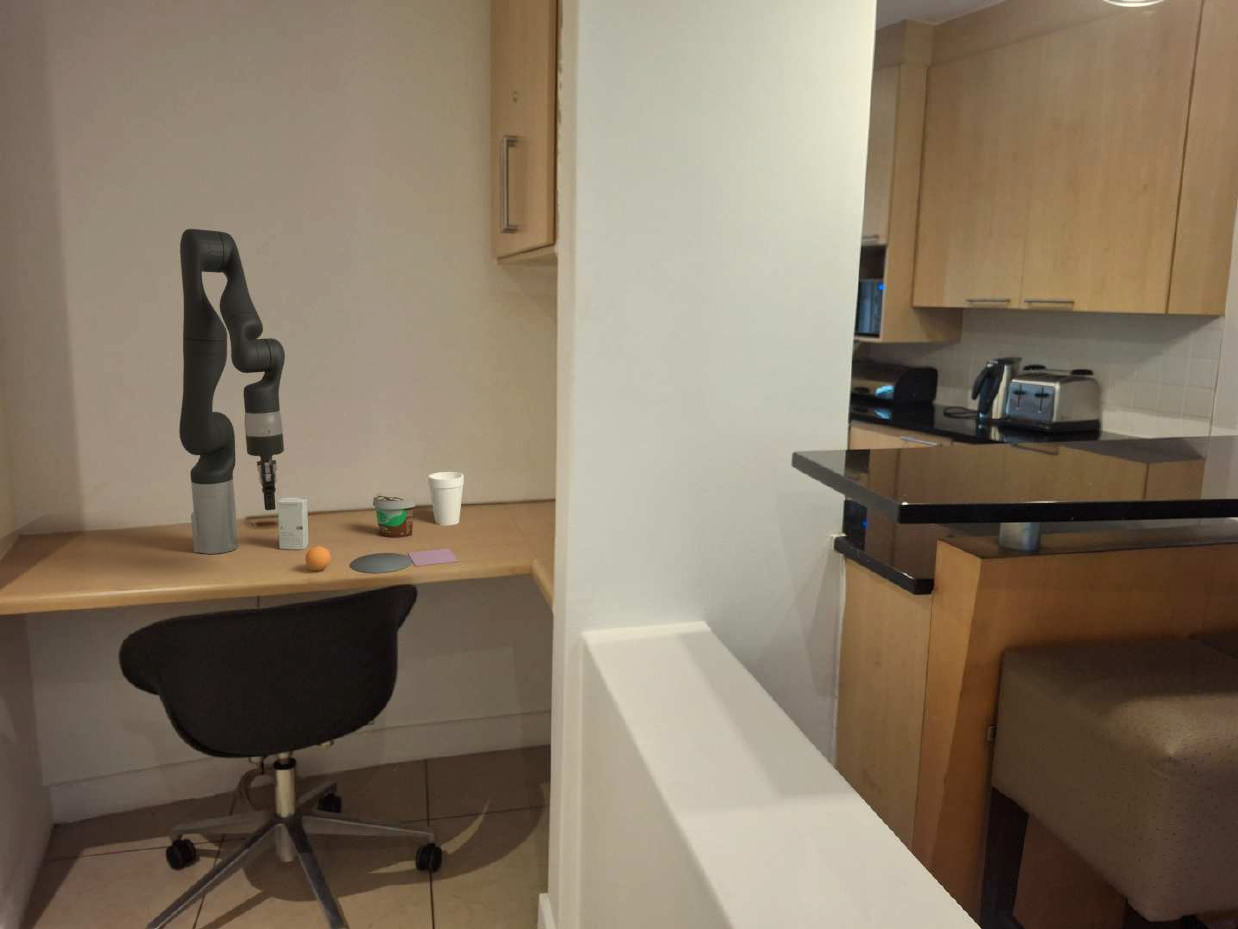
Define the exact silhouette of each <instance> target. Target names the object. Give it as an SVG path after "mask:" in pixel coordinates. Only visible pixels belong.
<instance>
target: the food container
mask: <svg viewBox="0 0 1238 929" xmlns="http://www.w3.org/2000/svg"><path fill="white" fill-rule="evenodd" d="M381 494H382V493H381V492H378V493H376V494H375V495H374V497H373V499H372V500H373V501H372V506H374V507H375V512H376V514H375V515H376V519H377V520H376V521H377V526H378V534H379V536H381V537H383V538H388V539H389V538H390V539H397V538H398V539H399V538H407V537H411V536H413V526H414V525H413V524H414V507H416V501H415V498H414V497H413V498H409V499H403V498H400V497H397V496H393V497H389V496H382V495H381Z"/></svg>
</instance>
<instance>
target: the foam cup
mask: <svg viewBox="0 0 1238 929" xmlns="http://www.w3.org/2000/svg"><path fill="white" fill-rule="evenodd" d="M464 476H465V475H464V474H463V473H462V472H456V471H439V472H433V473H431V474H428V476H427V478H428V481H427V482H428V486H429V491H430V498H431V503H432V510H433V516H434V521H435V524H436V523H437V525H438V524H440V525H439V526H455V525H457V524H459V523H460V519H461V517H460V516H461V507H462V506H461V505H462V499H463V498H462V497H463V489H464V484H465V477H464Z"/></svg>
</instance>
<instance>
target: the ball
mask: <svg viewBox="0 0 1238 929" xmlns="http://www.w3.org/2000/svg"><path fill="white" fill-rule="evenodd" d="M304 559H305V560H304V561H305V564H306V566H308V569H309V568H310V569H311V570H313V571H315V572H316V571H322V570H325V569H326V568H327V567H329V565H330V563H331V561H332V560H331V559H332V556H331V553H330V551H329V550H328V549H327V548H325V547H324V546H318V545H317V546H312V548H310V549H308V550H307V552H306V553H305V558H304Z"/></svg>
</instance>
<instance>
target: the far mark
mask: <svg viewBox="0 0 1238 929" xmlns="http://www.w3.org/2000/svg"><path fill="white" fill-rule="evenodd" d="M407 555H408V556H409V557H410V558H411V559H412V563H413V565H414V566H415V567H422V566H430V565H431V566H433V565H441V564H449V563H450V564H451V563H458V562H459V560H458V559H457V557H456V556H455V554H454V553H453V552H452V550H451V549H450V548H441V549H433V550H432V549H431V550H420V551H414V552H407Z"/></svg>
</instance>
